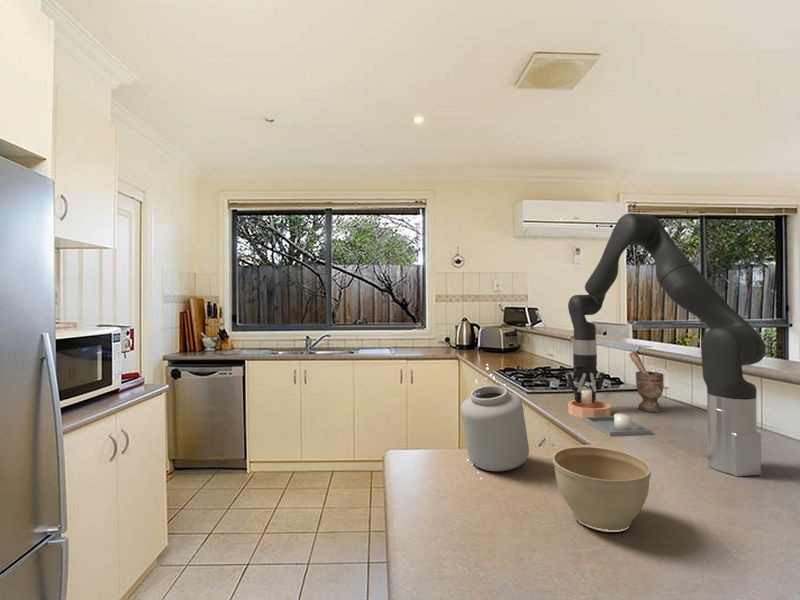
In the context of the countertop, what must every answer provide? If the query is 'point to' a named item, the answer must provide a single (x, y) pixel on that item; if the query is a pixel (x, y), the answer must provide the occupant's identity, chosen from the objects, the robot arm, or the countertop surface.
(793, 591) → the countertop surface
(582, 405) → the bowl
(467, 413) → the jar
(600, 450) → the planter bowl
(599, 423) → the tray
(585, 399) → the cream rounded lump
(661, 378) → the mortar and pestle
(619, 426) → the cream rounded piece
